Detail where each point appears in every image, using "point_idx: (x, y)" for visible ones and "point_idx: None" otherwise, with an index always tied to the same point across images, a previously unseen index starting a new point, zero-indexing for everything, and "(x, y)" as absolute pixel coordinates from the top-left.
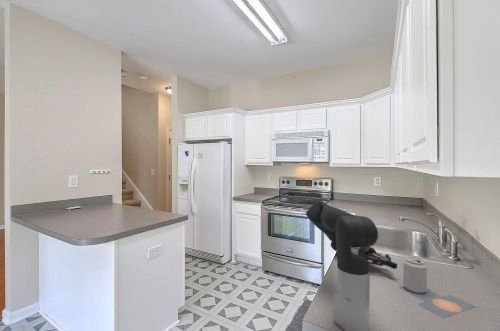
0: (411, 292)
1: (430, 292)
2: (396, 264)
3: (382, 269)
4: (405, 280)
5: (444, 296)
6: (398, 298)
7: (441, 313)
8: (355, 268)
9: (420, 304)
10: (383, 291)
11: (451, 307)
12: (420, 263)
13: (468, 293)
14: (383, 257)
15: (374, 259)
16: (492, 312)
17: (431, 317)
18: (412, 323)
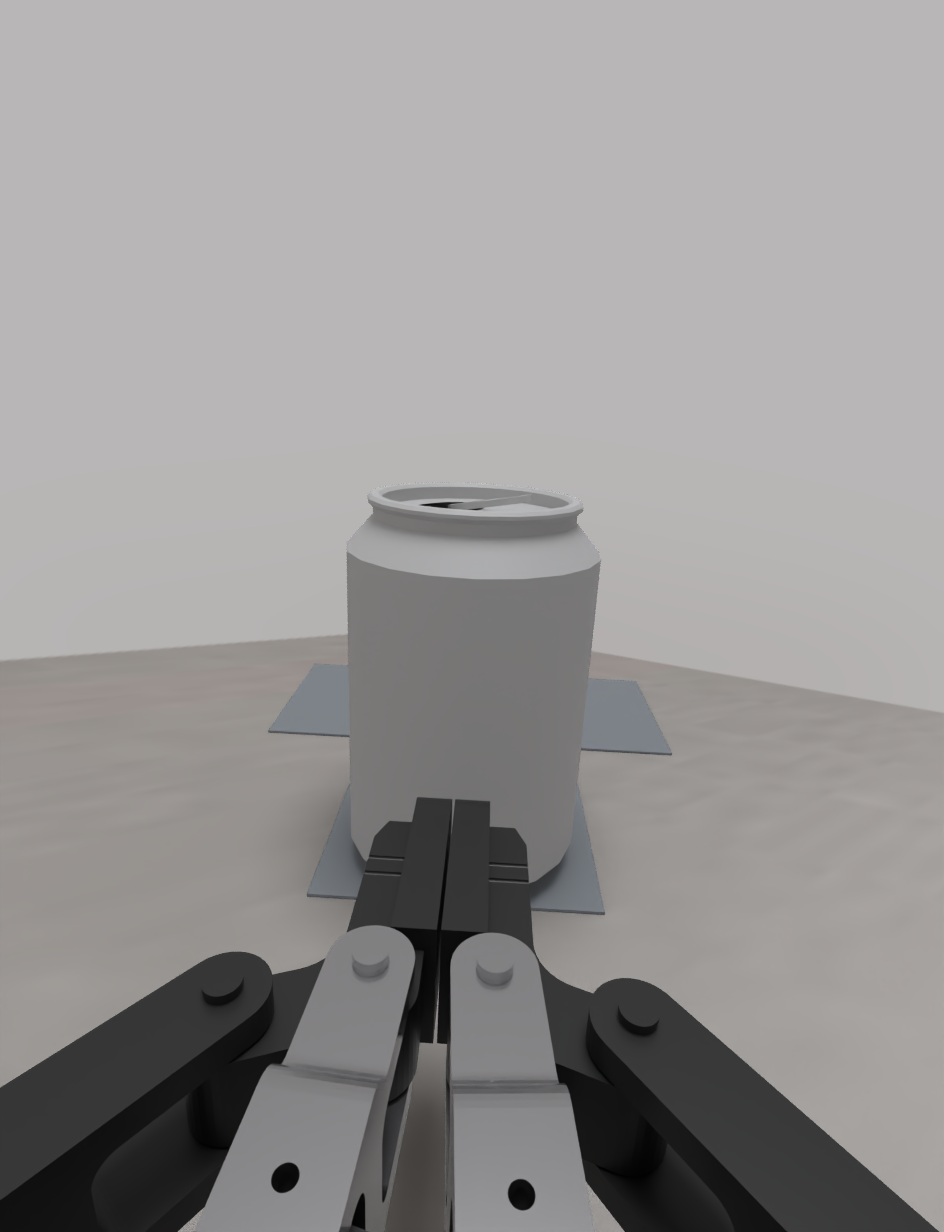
0: None
1: None
2: (435, 803)
3: None
4: (573, 776)
5: (345, 731)
6: (785, 827)
7: (605, 691)
8: None
9: (653, 747)
10: (895, 943)
11: None
12: (514, 490)
13: (114, 702)
14: (376, 1090)
15: (875, 1187)
16: (312, 640)
17: (702, 698)
18: (870, 709)
